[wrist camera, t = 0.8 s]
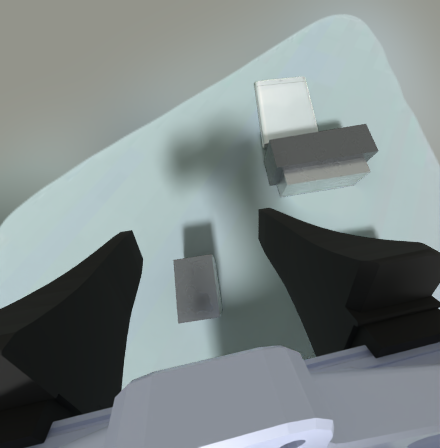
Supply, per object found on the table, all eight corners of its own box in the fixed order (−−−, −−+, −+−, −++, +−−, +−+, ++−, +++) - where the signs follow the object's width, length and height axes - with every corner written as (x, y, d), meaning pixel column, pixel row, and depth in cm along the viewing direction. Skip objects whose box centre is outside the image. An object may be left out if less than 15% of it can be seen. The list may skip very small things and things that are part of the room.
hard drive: (321, 139, 28) (306, 75, 32) (264, 143, 28) (255, 79, 32) (316, 146, 30) (302, 85, 33) (262, 151, 30) (253, 89, 34)
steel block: (222, 310, 23) (220, 317, 19) (189, 315, 23) (178, 323, 19) (215, 259, 25) (211, 254, 20) (184, 264, 25) (173, 260, 20)
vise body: (360, 184, 27) (385, 165, 22) (273, 198, 27) (281, 182, 23) (345, 148, 29) (365, 123, 24) (263, 161, 29) (269, 139, 24)
